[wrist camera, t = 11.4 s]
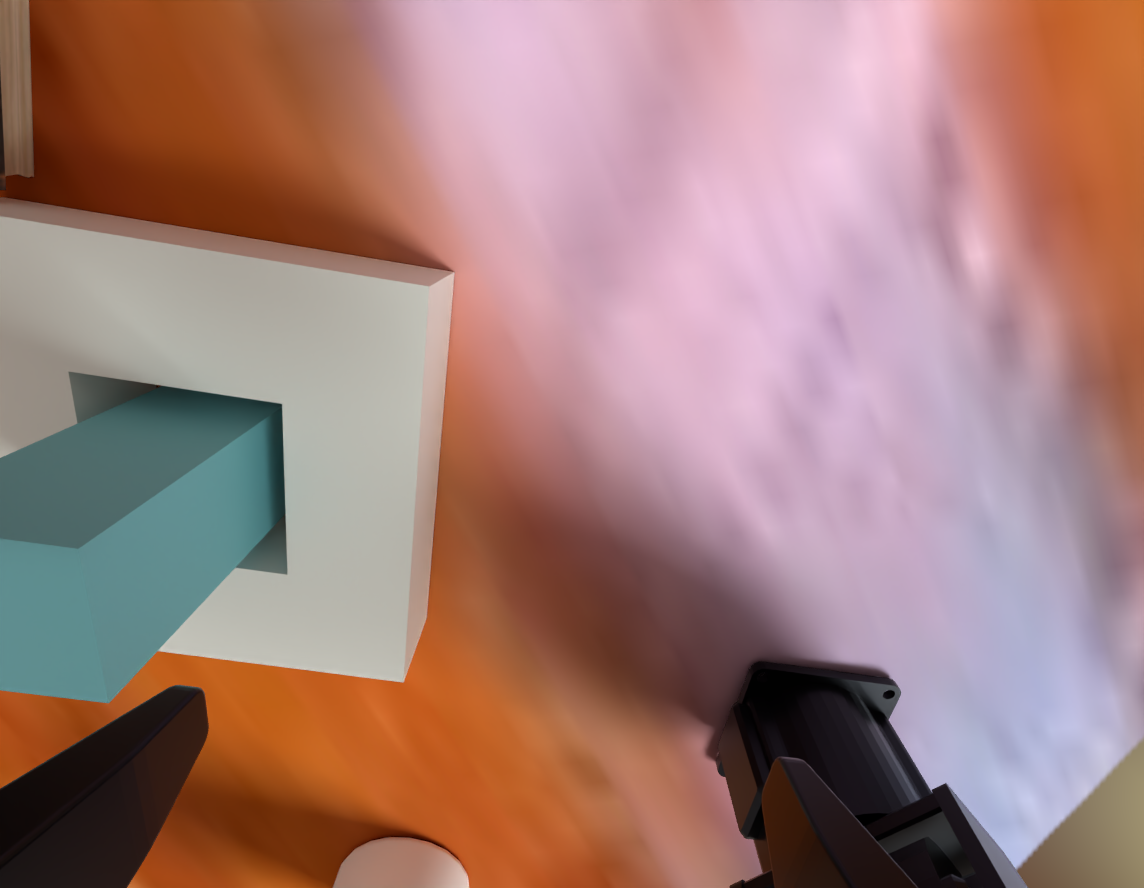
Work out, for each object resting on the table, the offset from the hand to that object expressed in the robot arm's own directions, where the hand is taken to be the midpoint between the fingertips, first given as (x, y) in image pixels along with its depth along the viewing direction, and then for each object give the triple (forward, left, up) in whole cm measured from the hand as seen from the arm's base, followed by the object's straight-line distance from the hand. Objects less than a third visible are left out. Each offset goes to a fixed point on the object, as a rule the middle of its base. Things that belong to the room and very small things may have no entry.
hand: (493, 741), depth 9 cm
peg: (+10, +2, -13) cm, 17 cm away
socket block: (+11, +2, -13) cm, 17 cm away
